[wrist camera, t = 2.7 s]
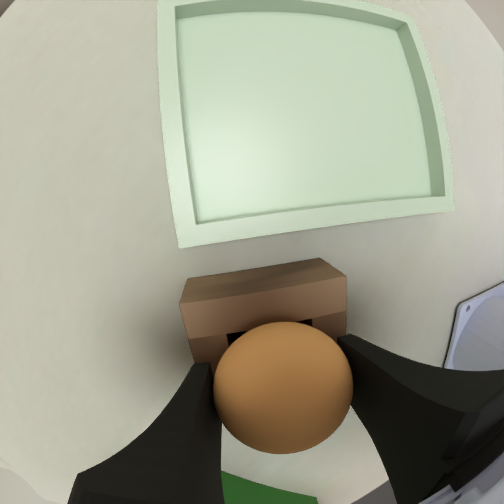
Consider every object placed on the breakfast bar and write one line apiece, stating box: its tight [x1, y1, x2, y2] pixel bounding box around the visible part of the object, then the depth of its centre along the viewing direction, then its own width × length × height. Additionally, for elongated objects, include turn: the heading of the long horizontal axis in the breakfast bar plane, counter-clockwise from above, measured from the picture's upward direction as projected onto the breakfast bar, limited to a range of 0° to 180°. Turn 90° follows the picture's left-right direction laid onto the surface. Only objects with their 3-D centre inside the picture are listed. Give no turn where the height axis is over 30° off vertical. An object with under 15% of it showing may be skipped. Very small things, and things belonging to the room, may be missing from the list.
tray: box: [157, 0, 455, 249], centre depth 11 cm, size 14×12×2 cm
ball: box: [213, 322, 353, 454], centre depth 9 cm, size 5×5×5 cm
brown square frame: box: [179, 258, 347, 376], centre depth 12 cm, size 6×6×3 cm
